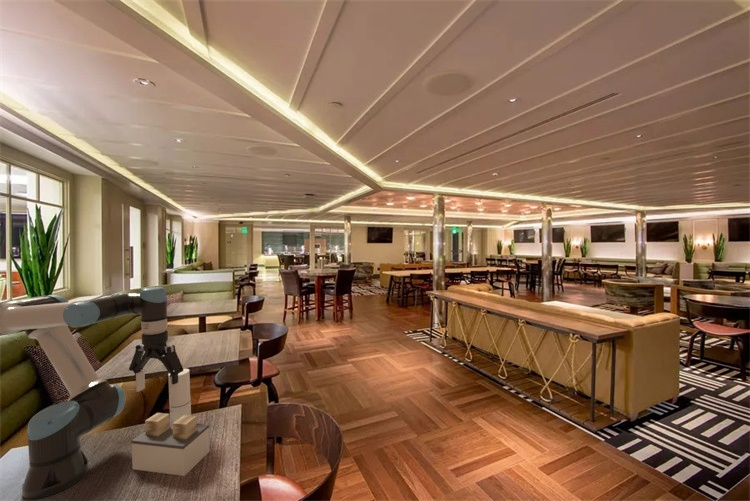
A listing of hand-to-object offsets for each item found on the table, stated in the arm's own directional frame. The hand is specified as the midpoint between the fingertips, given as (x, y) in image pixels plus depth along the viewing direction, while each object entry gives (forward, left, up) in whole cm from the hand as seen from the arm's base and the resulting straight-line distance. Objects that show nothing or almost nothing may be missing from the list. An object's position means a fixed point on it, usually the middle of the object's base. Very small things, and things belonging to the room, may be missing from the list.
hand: (156, 391), depth 110 cm
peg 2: (+11, 0, -17) cm, 20 cm away
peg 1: (0, 0, -17) cm, 17 cm away
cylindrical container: (-4, +14, -25) cm, 28 cm away
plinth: (+5, 0, -24) cm, 25 cm away
